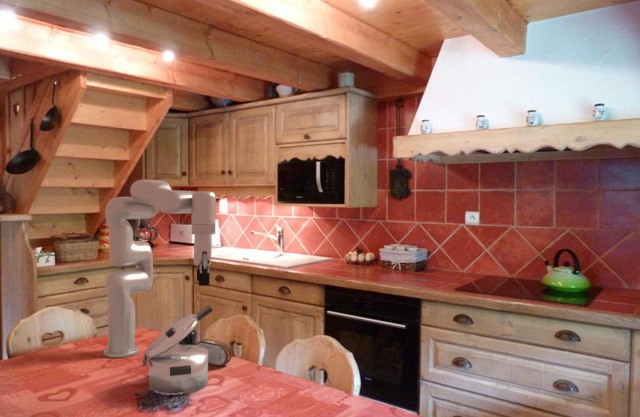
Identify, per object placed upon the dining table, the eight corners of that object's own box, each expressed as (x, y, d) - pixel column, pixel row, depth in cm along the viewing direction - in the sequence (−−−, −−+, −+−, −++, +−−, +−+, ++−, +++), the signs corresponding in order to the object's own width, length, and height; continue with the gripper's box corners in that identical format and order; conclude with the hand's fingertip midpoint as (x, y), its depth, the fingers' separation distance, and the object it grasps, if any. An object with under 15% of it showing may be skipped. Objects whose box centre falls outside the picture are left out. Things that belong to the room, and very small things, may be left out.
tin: (231, 366, 166) (232, 342, 166) (226, 369, 163) (226, 345, 163) (198, 359, 172) (199, 336, 172) (193, 361, 170) (193, 338, 170)
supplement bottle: (189, 351, 181) (189, 320, 181) (200, 354, 177) (201, 323, 177) (174, 355, 176) (174, 324, 176) (186, 359, 172) (186, 327, 172)
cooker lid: (147, 348, 154) (142, 342, 154) (209, 302, 161) (205, 296, 160) (144, 367, 136) (139, 361, 136) (215, 315, 143) (210, 308, 142)
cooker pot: (144, 374, 156) (144, 345, 156) (204, 368, 163) (205, 340, 163) (141, 403, 134) (141, 369, 134) (211, 395, 140) (211, 363, 140)
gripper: (189, 228, 158) (189, 279, 158) (193, 231, 141) (192, 288, 141) (212, 228, 160) (212, 278, 160) (218, 231, 143) (217, 287, 144)
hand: (202, 282), depth 151 cm, fingers open, 8 cm apart
